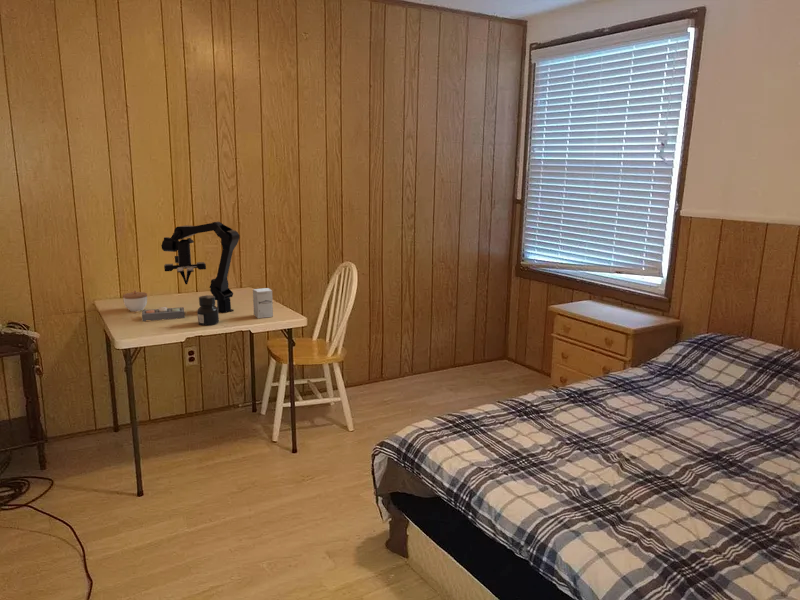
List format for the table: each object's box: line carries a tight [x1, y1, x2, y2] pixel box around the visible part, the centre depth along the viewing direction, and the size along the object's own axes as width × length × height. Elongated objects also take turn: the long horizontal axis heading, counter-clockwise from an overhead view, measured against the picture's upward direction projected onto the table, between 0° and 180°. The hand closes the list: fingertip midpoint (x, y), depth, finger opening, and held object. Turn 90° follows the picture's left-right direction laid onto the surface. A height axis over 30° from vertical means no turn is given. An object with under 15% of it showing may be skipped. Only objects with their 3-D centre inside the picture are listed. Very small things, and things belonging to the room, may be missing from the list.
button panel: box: [141, 306, 186, 322], centre depth 281 cm, size 18×9×3 cm, turn 111°
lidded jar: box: [122, 290, 148, 312], centre depth 293 cm, size 11×11×9 cm
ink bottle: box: [196, 294, 220, 326], centre depth 270 cm, size 10×9×12 cm
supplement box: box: [252, 287, 274, 319], centre depth 283 cm, size 7×7×13 cm
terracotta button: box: [146, 309, 155, 313], centre depth 279 cm, size 4×4×2 cm
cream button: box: [158, 306, 168, 312], centre depth 280 cm, size 4×4×2 cm
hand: (186, 284), depth 295 cm, fingers closed
